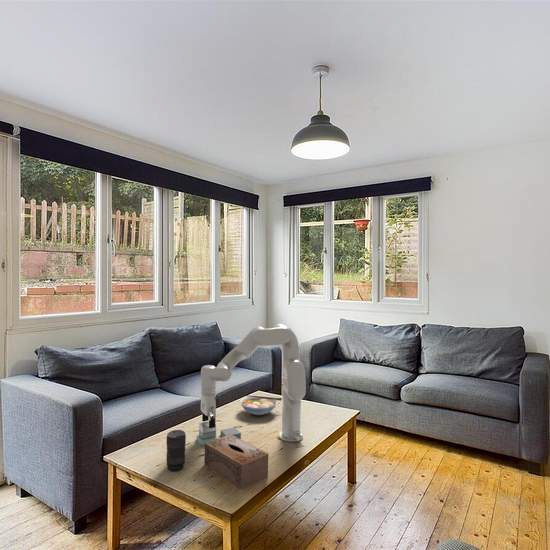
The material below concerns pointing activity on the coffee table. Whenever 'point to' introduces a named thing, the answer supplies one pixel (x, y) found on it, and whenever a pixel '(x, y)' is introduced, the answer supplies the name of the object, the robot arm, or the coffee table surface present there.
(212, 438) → the stand
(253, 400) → the ramen bowl
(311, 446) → the coffee table surface
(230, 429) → the stand
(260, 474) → the tissue box cover
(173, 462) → the camera lens
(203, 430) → the block
